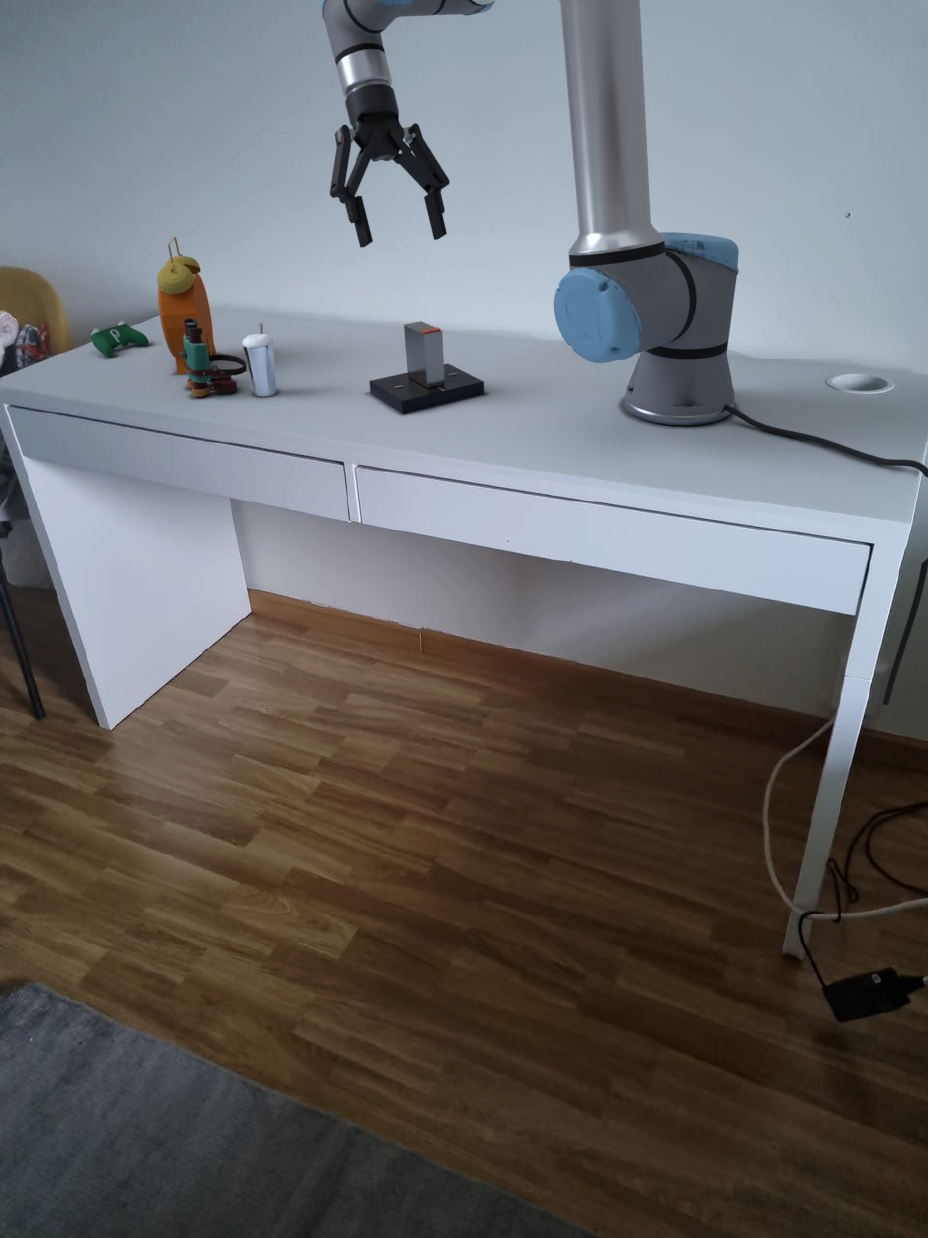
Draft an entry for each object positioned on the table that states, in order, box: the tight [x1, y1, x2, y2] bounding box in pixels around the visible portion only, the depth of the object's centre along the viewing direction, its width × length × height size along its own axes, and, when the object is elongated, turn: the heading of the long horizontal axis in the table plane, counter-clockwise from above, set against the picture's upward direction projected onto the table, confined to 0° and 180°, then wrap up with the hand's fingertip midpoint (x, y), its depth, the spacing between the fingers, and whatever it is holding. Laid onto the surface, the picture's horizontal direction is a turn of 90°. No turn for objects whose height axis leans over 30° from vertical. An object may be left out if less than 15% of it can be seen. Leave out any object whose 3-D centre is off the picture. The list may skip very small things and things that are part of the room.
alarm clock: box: [156, 236, 218, 375], centre depth 148 cm, size 13×6×20 cm, turn 6°
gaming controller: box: [90, 319, 150, 358], centre depth 162 cm, size 9×4×6 cm
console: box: [369, 363, 485, 415], centre depth 136 cm, size 14×11×2 cm
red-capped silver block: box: [403, 321, 445, 388], centre depth 133 cm, size 6×3×8 cm, turn 30°
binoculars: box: [179, 318, 248, 398], centre depth 140 cm, size 9×11×10 cm
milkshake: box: [241, 322, 277, 398], centre depth 137 cm, size 4×5×10 cm
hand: (404, 240), depth 136 cm, fingers open, 13 cm apart
